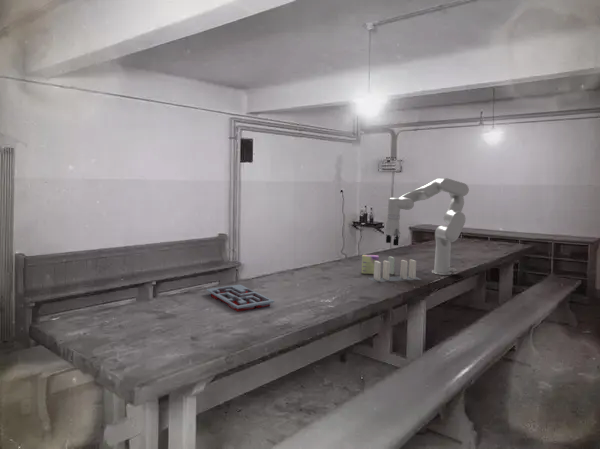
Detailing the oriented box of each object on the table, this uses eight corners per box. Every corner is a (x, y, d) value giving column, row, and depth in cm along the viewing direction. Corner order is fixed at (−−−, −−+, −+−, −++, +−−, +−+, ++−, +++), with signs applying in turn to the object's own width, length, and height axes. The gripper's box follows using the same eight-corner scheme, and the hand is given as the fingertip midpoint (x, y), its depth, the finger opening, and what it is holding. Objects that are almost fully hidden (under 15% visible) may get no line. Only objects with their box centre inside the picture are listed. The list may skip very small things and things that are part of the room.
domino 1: (376, 278, 281) (377, 260, 279) (380, 280, 276) (381, 262, 275) (373, 278, 280) (374, 260, 279) (377, 280, 275) (378, 262, 274)
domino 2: (385, 278, 283) (386, 260, 281) (389, 280, 278) (390, 262, 276) (382, 278, 282) (383, 260, 281) (386, 280, 277) (387, 262, 276)
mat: (413, 276, 291) (413, 275, 291) (421, 280, 282) (422, 279, 282) (367, 278, 282) (367, 277, 282) (374, 282, 272) (374, 281, 272)
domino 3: (390, 273, 299) (390, 256, 297) (393, 274, 294) (394, 258, 293) (387, 273, 298) (388, 256, 297) (391, 275, 294) (392, 258, 292)
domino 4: (402, 277, 286) (403, 259, 285) (406, 279, 281) (407, 261, 280) (399, 277, 286) (400, 259, 284) (404, 279, 281) (405, 261, 279)
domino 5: (411, 276, 288) (412, 259, 286) (415, 278, 283) (416, 261, 282) (408, 276, 287) (409, 259, 286) (412, 278, 283) (413, 261, 281)
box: (377, 272, 299) (378, 255, 297) (378, 275, 293) (378, 256, 292) (361, 272, 300) (362, 254, 298) (361, 274, 294) (362, 256, 293)
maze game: (274, 307, 222) (274, 300, 221) (237, 313, 211) (237, 306, 210) (240, 290, 250) (240, 284, 250) (206, 295, 239) (206, 289, 239)
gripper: (381, 215, 299) (380, 241, 301) (394, 218, 282) (393, 246, 284) (392, 215, 301) (390, 241, 303) (405, 218, 284) (404, 246, 287)
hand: (391, 244), depth 294 cm, fingers open, 9 cm apart
